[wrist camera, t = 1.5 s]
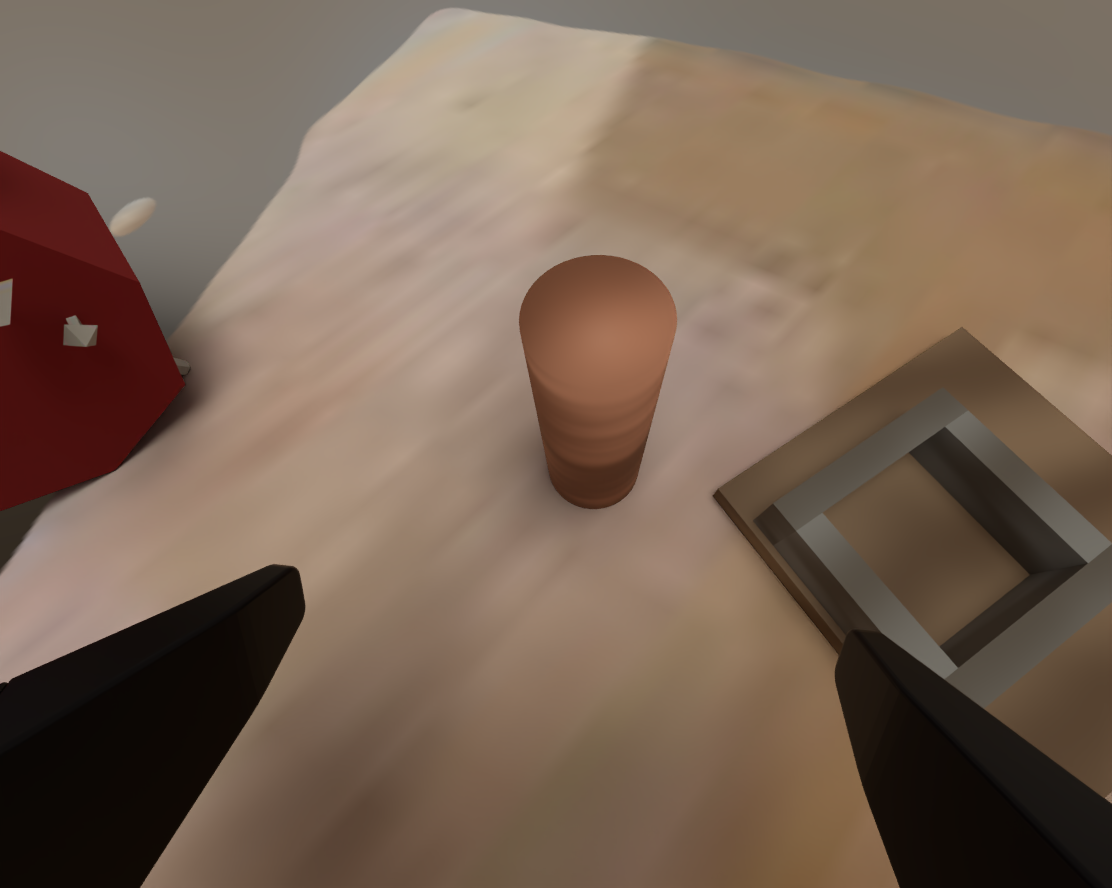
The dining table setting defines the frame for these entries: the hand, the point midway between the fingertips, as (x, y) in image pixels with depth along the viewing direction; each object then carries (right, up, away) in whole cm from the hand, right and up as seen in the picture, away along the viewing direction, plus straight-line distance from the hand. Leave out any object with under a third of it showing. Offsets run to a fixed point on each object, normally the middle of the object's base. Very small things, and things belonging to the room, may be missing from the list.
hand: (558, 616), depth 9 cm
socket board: (+17, -2, +13) cm, 21 cm away
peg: (+2, +2, +15) cm, 15 cm away
